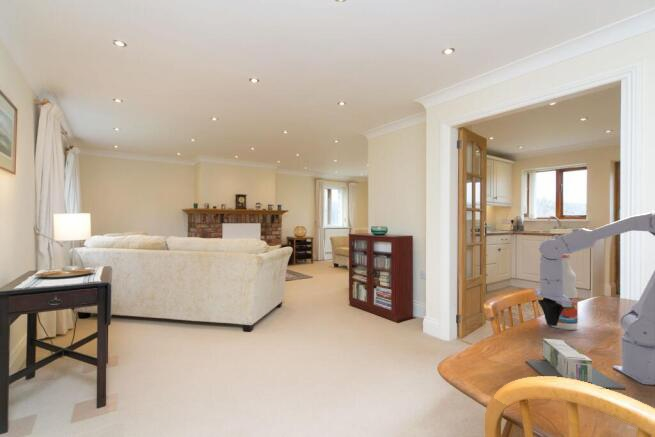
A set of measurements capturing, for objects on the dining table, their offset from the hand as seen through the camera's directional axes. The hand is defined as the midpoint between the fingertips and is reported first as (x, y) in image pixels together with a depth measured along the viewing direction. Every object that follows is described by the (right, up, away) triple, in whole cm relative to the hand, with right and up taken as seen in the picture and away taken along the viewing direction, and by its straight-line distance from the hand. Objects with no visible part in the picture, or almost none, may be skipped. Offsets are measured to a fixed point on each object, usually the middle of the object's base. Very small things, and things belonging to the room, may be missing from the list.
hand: (551, 325), depth 95 cm
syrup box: (0, -7, -1) cm, 7 cm away
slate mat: (-2, -10, -10) cm, 14 cm away
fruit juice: (+24, -10, +29) cm, 39 cm away
